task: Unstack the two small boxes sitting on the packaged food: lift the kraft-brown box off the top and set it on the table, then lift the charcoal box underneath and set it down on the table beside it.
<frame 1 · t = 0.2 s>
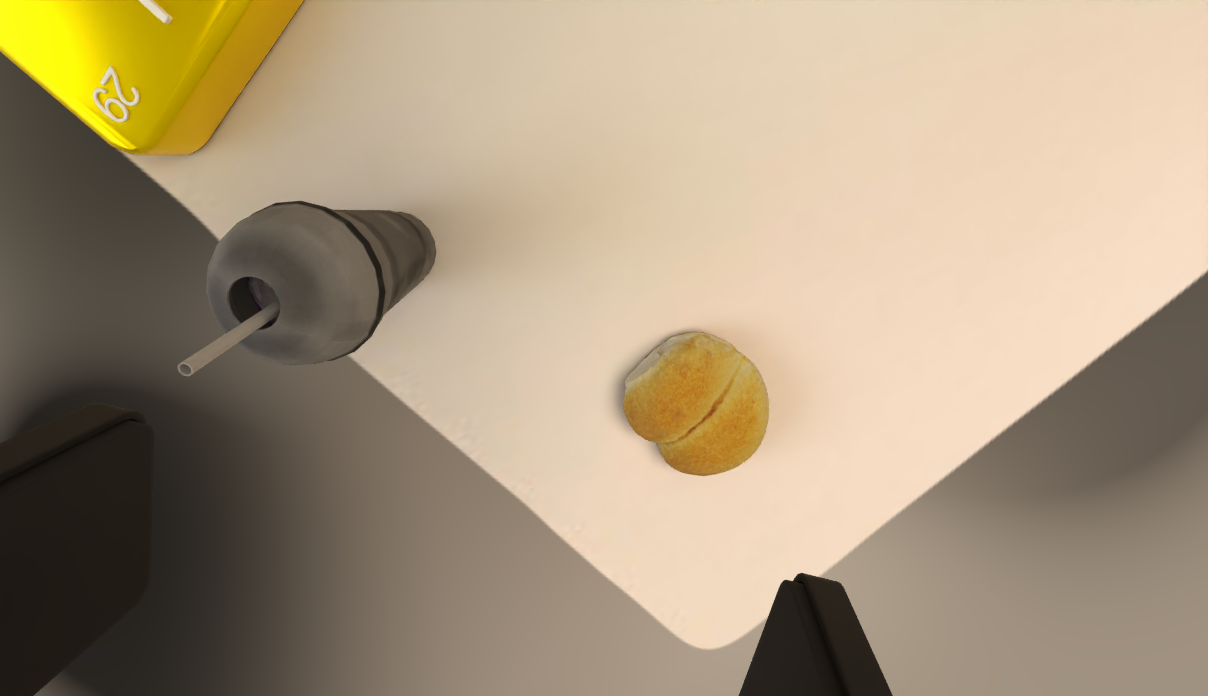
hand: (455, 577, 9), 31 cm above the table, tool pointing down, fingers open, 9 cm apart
beverage cup: (401, 248, 40), on the table
bread roll: (693, 396, 41), on the table
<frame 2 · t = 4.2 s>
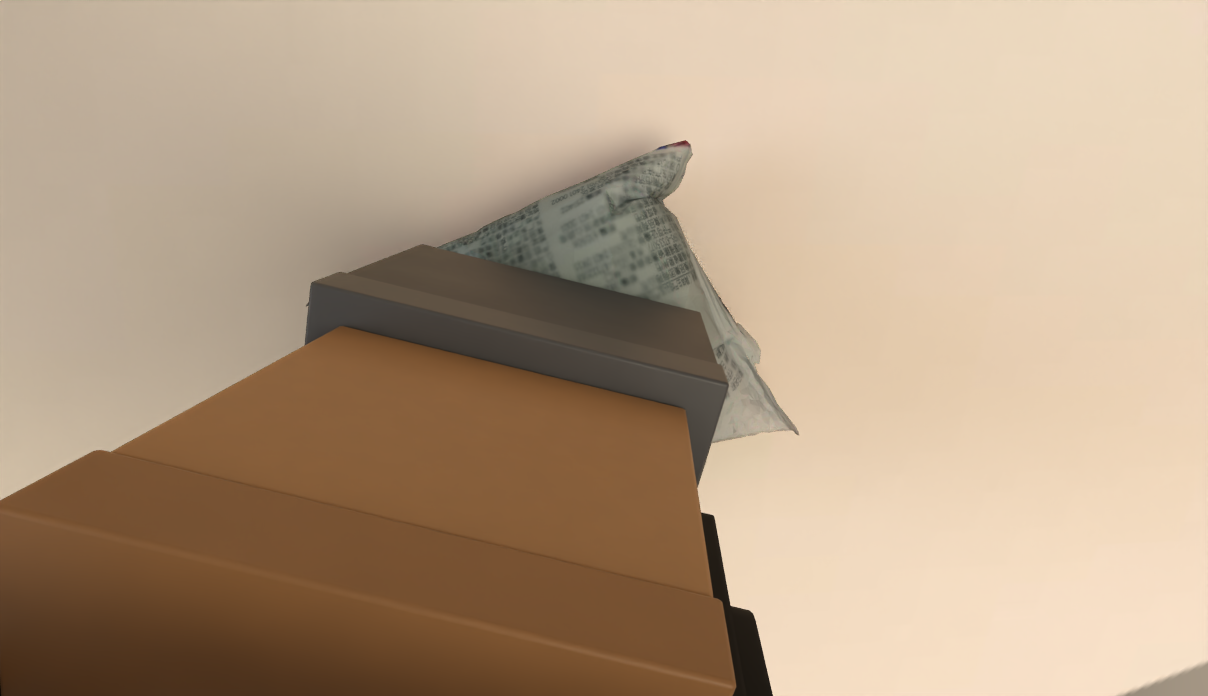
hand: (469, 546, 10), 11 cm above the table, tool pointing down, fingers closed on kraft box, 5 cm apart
kraft box: (483, 518, 11), point 10 cm above the table, touching gripper
charcoal box: (533, 407, 16), point 5 cm above the table, touching packaged food
packaged food: (560, 347, 21), on the table, touching charcoal box
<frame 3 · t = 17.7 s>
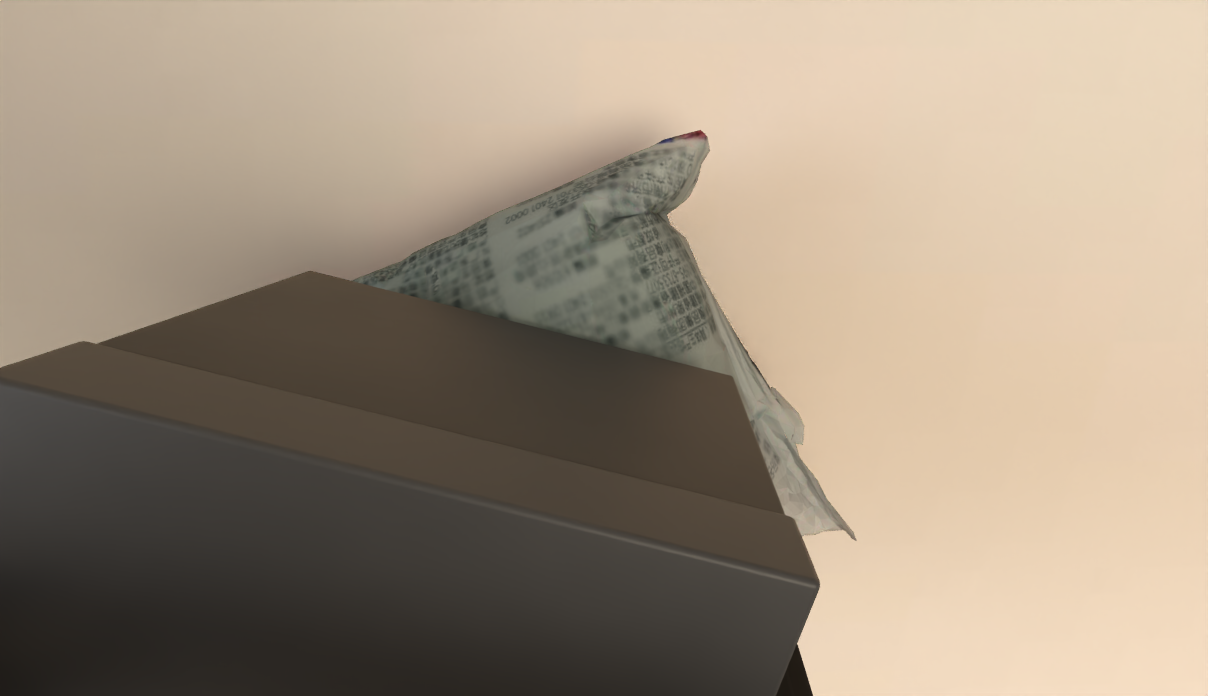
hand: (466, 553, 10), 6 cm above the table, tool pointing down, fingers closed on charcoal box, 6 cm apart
charcoal box: (483, 509, 11), point 5 cm above the table, touching gripper, packaged food
packaged food: (531, 405, 16), on the table, touching charcoal box
when the fingers open (1 cm above the table, at t = 25.6 s): charcoal box stays where it is, on the table.
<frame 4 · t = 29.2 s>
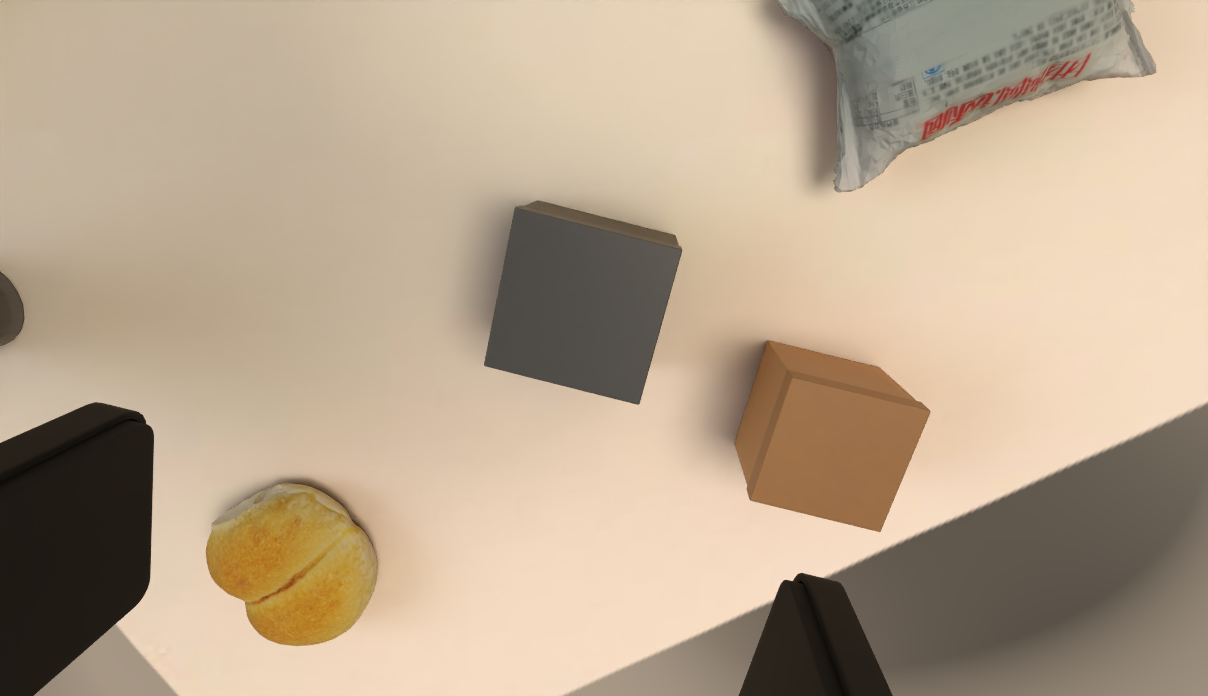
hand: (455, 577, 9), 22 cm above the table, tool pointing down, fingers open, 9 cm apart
bread roll: (306, 547, 36), on the table
kraft box: (805, 406, 32), on the table
charcoal box: (590, 286, 31), on the table
packaged food: (935, 43, 27), on the table
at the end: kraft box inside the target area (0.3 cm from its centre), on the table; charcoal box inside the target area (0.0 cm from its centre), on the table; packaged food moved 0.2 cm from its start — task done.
